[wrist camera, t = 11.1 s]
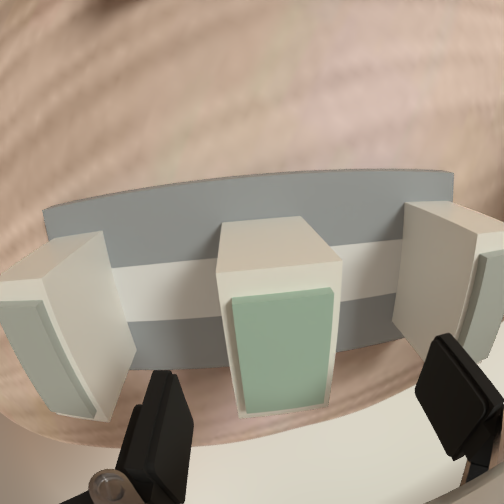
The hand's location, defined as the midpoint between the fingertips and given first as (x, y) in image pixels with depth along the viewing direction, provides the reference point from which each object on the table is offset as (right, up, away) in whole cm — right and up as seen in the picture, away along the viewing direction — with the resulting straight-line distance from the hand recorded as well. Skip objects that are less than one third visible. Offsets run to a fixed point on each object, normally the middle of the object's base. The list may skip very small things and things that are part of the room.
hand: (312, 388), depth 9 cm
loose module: (-1, +3, +9) cm, 9 cm away
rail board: (-1, +3, +10) cm, 11 cm away
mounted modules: (-1, +3, +9) cm, 9 cm away
